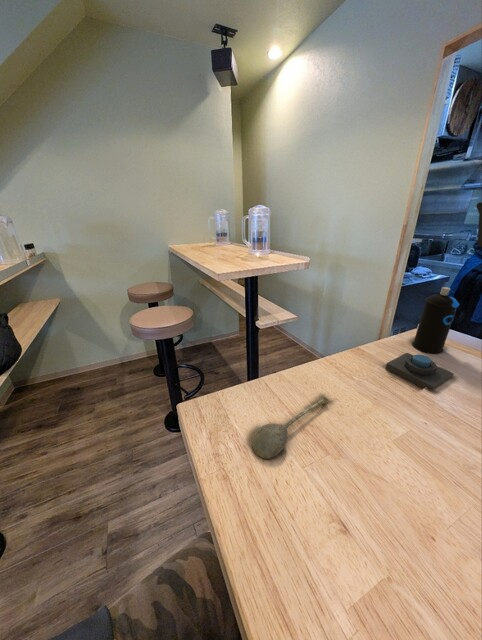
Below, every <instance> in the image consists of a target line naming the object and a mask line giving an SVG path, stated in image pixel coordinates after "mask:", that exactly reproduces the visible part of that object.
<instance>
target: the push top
mask: <svg viewBox="0 0 482 640" xmlns="http://www.w3.org/2000/svg"><path fill="white" fill-rule="evenodd" d="M413 355H414V356H413V359H412V363H413V364H415V365H417V366H419V367H424V368H428V367H429V366H430V363H431V360H432V359H431V358H430V357H429V356H427V355H424V354H421V353H420V354H419V353H417V354H413Z"/></svg>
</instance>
